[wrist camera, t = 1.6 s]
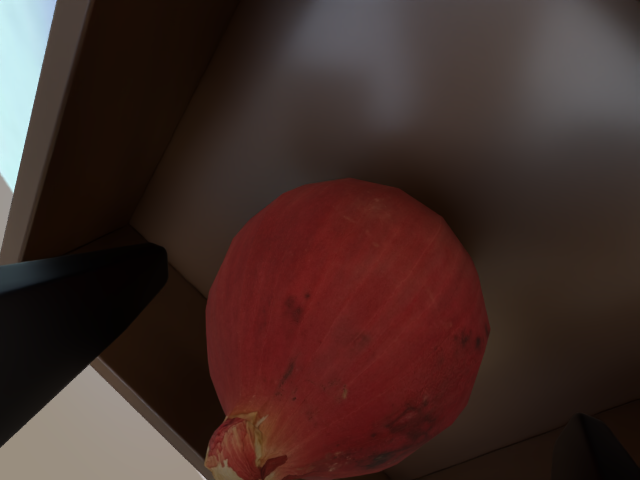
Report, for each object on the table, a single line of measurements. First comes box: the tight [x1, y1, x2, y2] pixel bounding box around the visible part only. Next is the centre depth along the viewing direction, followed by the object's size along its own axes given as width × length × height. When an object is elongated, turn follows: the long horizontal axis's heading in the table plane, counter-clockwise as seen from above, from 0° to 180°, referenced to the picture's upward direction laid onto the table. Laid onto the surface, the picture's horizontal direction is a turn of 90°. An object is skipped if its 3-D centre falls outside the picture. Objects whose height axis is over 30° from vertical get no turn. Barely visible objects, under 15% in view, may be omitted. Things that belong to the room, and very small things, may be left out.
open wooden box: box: [0, 0, 640, 480], centre depth 10 cm, size 17×17×5 cm
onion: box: [204, 178, 491, 480], centre depth 9 cm, size 6×6×8 cm
